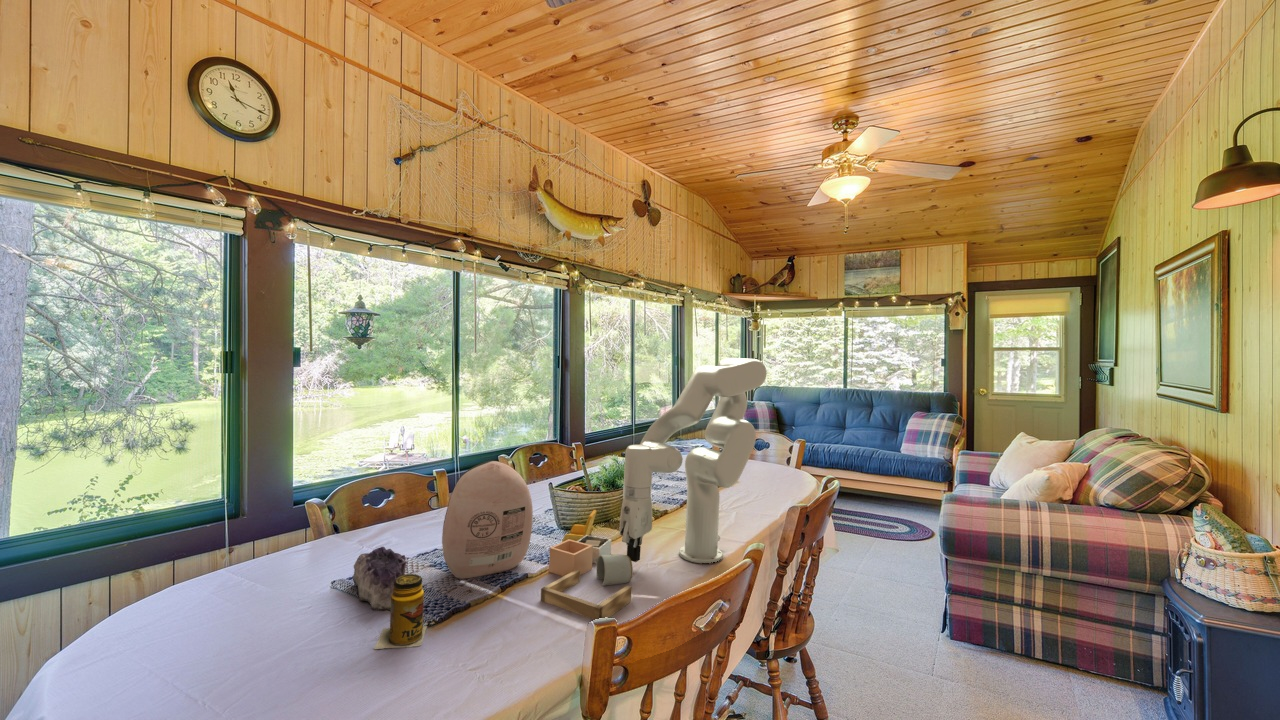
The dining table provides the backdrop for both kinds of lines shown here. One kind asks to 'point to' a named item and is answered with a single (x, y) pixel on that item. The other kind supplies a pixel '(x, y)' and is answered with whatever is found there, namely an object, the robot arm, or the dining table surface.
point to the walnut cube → (593, 543)
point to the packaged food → (487, 521)
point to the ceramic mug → (614, 569)
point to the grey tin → (602, 550)
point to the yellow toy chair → (581, 529)
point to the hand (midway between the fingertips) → (633, 559)
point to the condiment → (405, 614)
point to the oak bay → (580, 606)
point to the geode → (378, 576)
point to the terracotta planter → (570, 557)
